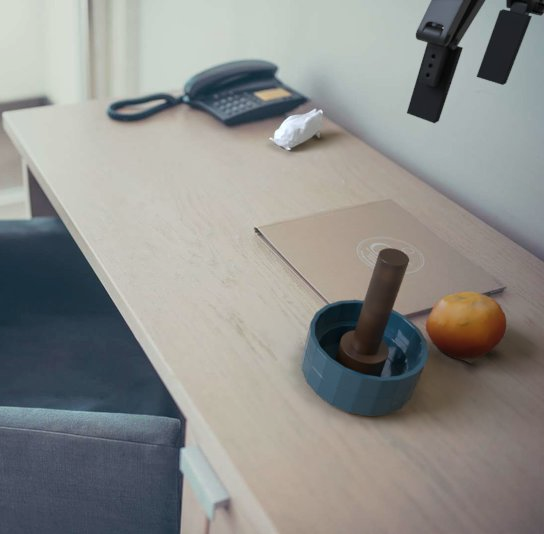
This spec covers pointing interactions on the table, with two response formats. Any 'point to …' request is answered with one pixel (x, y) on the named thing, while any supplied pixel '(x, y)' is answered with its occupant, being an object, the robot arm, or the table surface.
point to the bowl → (355, 386)
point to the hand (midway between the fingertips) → (458, 97)
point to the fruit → (466, 325)
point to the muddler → (374, 316)
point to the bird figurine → (298, 129)
